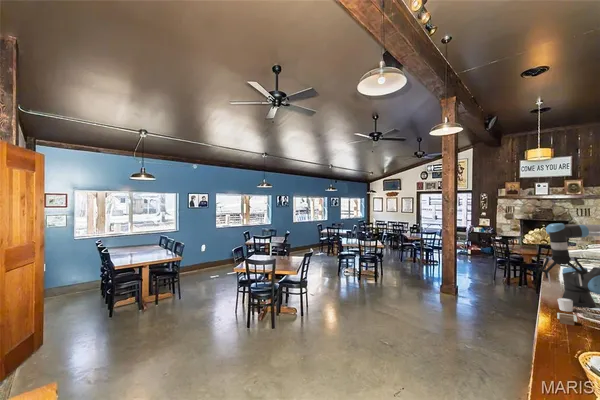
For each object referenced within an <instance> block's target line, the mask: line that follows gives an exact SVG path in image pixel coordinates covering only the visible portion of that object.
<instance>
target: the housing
mask: <svg viewBox="0 0 600 400" xmlns="http://www.w3.org/2000/svg"><path fill="white" fill-rule="evenodd" d="M567 314H568V313H563V314H559V318H560V319H559V324H564V325H568V326H569V325H570V326H575V321H574V316H573V315H574V314H570V315H567Z"/></svg>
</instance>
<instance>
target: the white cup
mask: <svg viewBox="0 0 600 400" xmlns="http://www.w3.org/2000/svg"><path fill="white" fill-rule="evenodd" d="M557 303H558V308H559V310H560V311H563V312H567V313H568V312H571V313H572V312H573V311H574V308H573V307H574V306H573V300H571V299H566V298H562V297H558V298H557Z"/></svg>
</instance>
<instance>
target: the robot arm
mask: <svg viewBox="0 0 600 400" xmlns="http://www.w3.org/2000/svg"><path fill="white" fill-rule="evenodd" d="M545 232H546V234H547V235H548V237H549V241H550V248H551V257H550V256H546V257H545V262H544V263H543V264H542V267H541V269H540V272H542V273H544V275H545V278H546V279H548V284H549V285H551V284H552V281H551V276H550V271H551V270H552V269H553V268H555V266H556V265H564V266H566V265H568V266H570V267H563V269H562V273H561V274H562V279H563V281H562V282H563V287H564V291H563V294H562V296H561V298H566V299H571V300H573V307H576V308H586V307H589V308H588V309H590V308H596V301H595V300H594V297H593V295H592V294H591V293H593V294H596V295H600V265H599V266H594V267H592V268H591V269H590V270H588V269H587V267H584V266H582V264H581V263H580V262H579V261H578V258H577V256H574V257H570V252H569V245H568V239H577V238H578V239H579V238H580V239H581V238H586V237H600V224H565V223H562V222H560V223H559V222H558V223H550V224H548V225H547V226H546V227H545ZM551 260H552V261H553V262H552V263H551V264H550V265H549V266H548V264H549V262H551ZM571 260H572V261H573V262H575V264H576V265H577V266H575V265H574V264H572V263H571ZM547 266H548V267H547ZM546 267H547V268H546Z"/></svg>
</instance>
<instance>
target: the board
mask: <svg viewBox="0 0 600 400" xmlns="http://www.w3.org/2000/svg"><path fill="white" fill-rule="evenodd" d="M559 314H564V313H563V312H562V313H561V312H557V313H556V316H557V318H556V319H558V320H560V318H559ZM566 314H567V315H571V314H570V313H569V314H568V313H566ZM572 315H573V316H574V322H578V318H577V315H575V314H572Z"/></svg>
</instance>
